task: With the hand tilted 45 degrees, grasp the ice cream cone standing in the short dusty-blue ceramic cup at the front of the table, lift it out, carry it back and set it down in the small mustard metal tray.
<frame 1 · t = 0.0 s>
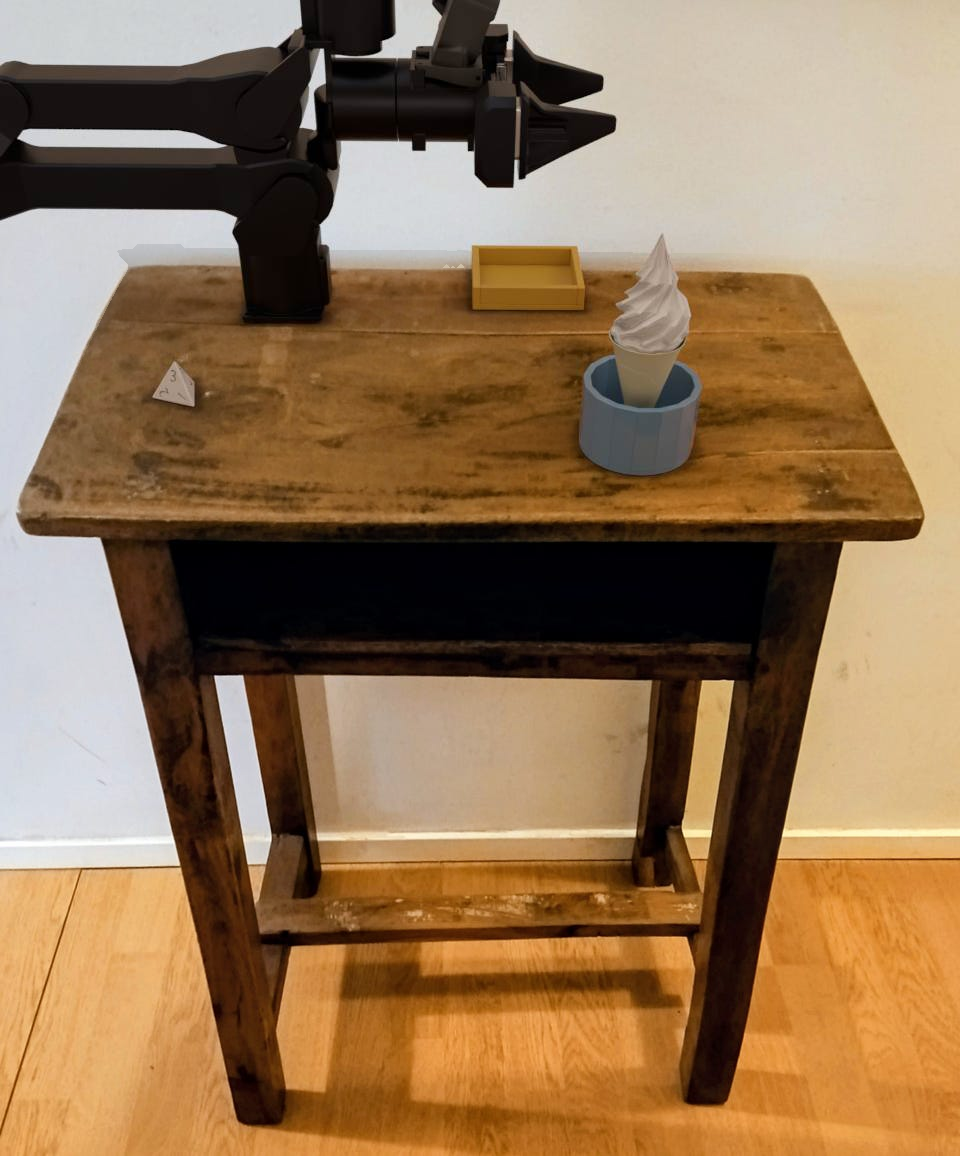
hand: (609, 102, 85), 17 cm above the table, tool horizontal, fingers open, 9 cm apart
tetrahedral die: (183, 395, 85), on the table
ice cream cone: (635, 442, 80), resting on cup
cup: (634, 443, 80), on the table
tray: (525, 287, 99), on the table
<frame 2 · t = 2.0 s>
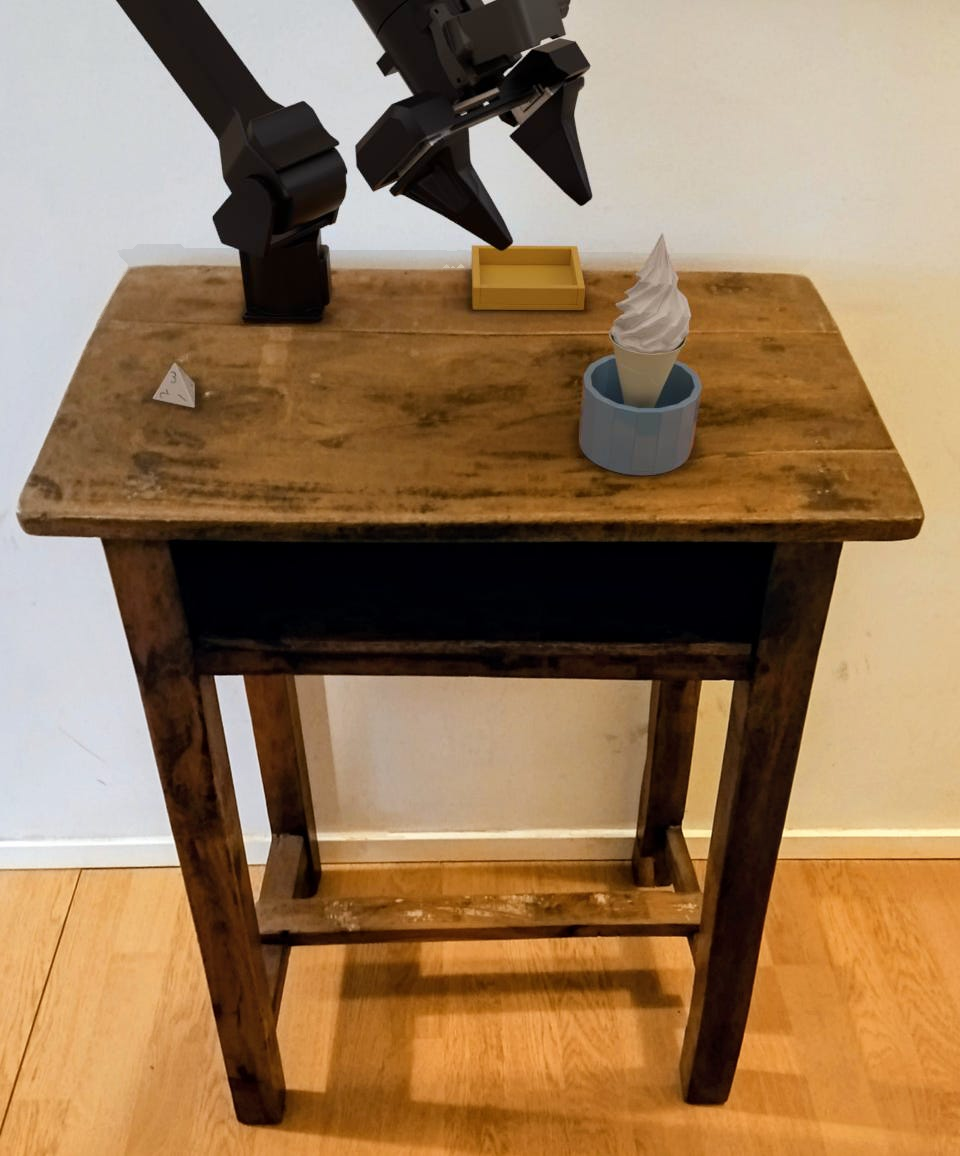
hand: (548, 223, 75), 14 cm above the table, tool tilted 45°, fingers open, 9 cm apart
nothing on the table moved.
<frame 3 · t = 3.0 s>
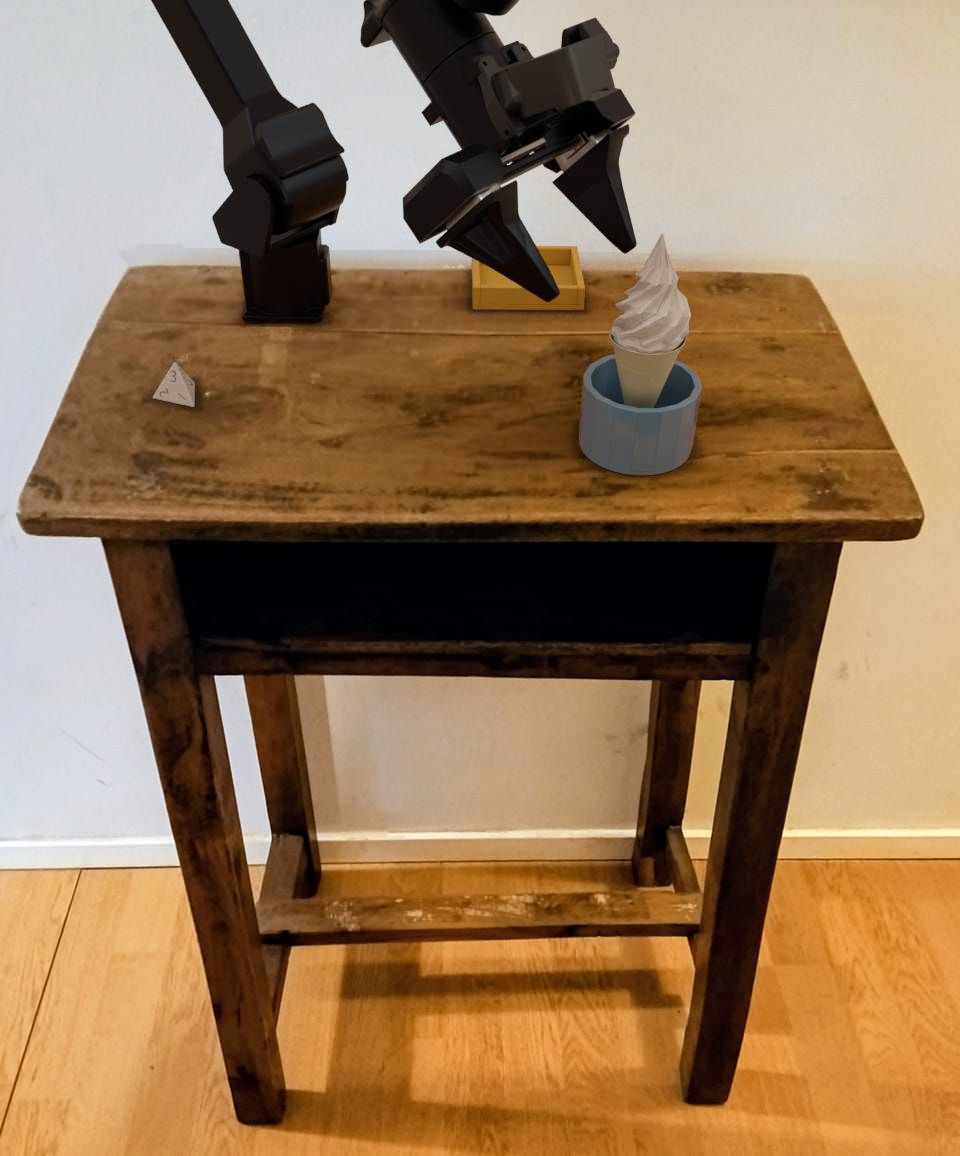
hand: (594, 273, 75), 11 cm above the table, tool tilted 45°, fingers open, 9 cm apart
nothing on the table moved.
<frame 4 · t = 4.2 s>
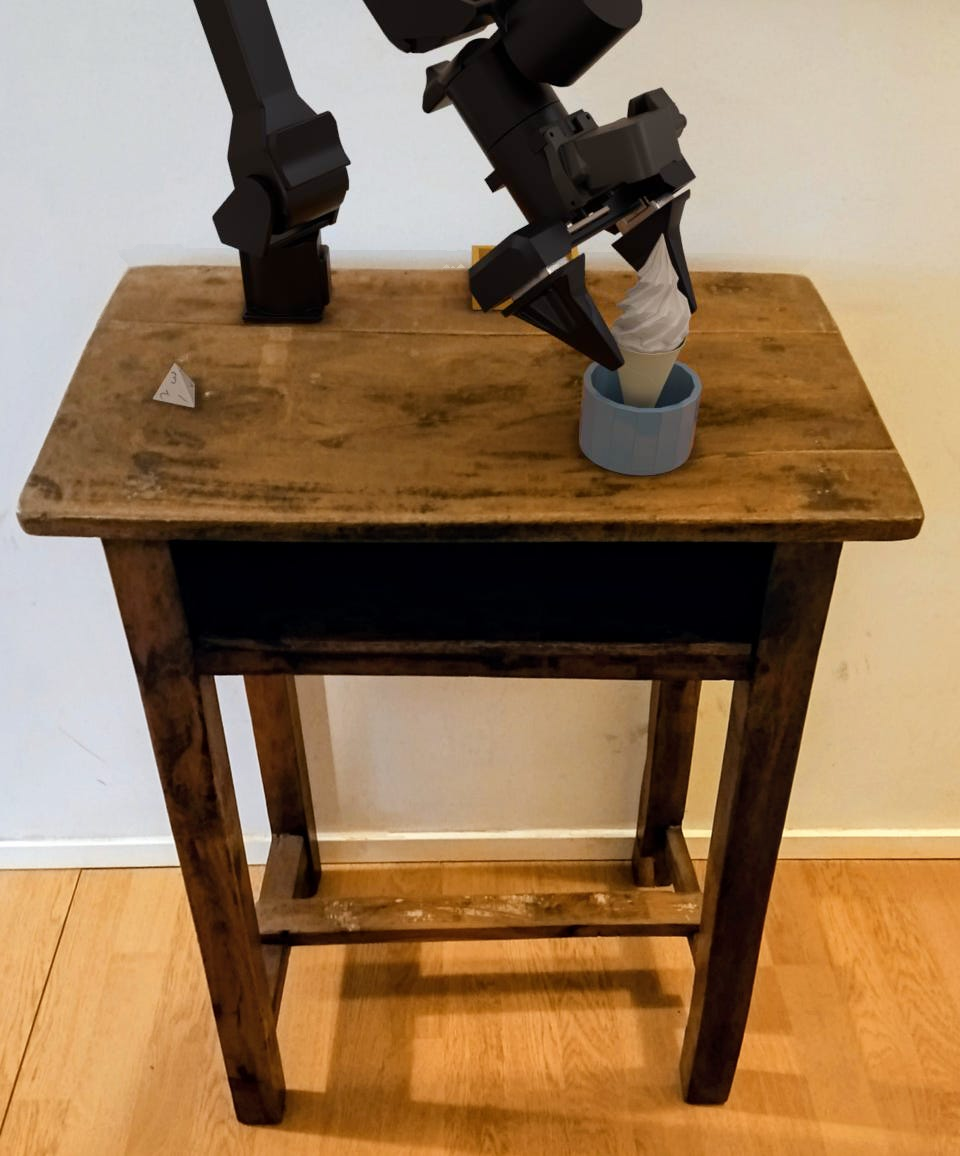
hand: (656, 340, 75), 8 cm above the table, tool tilted 45°, fingers open, 9 cm apart
nothing on the table moved.
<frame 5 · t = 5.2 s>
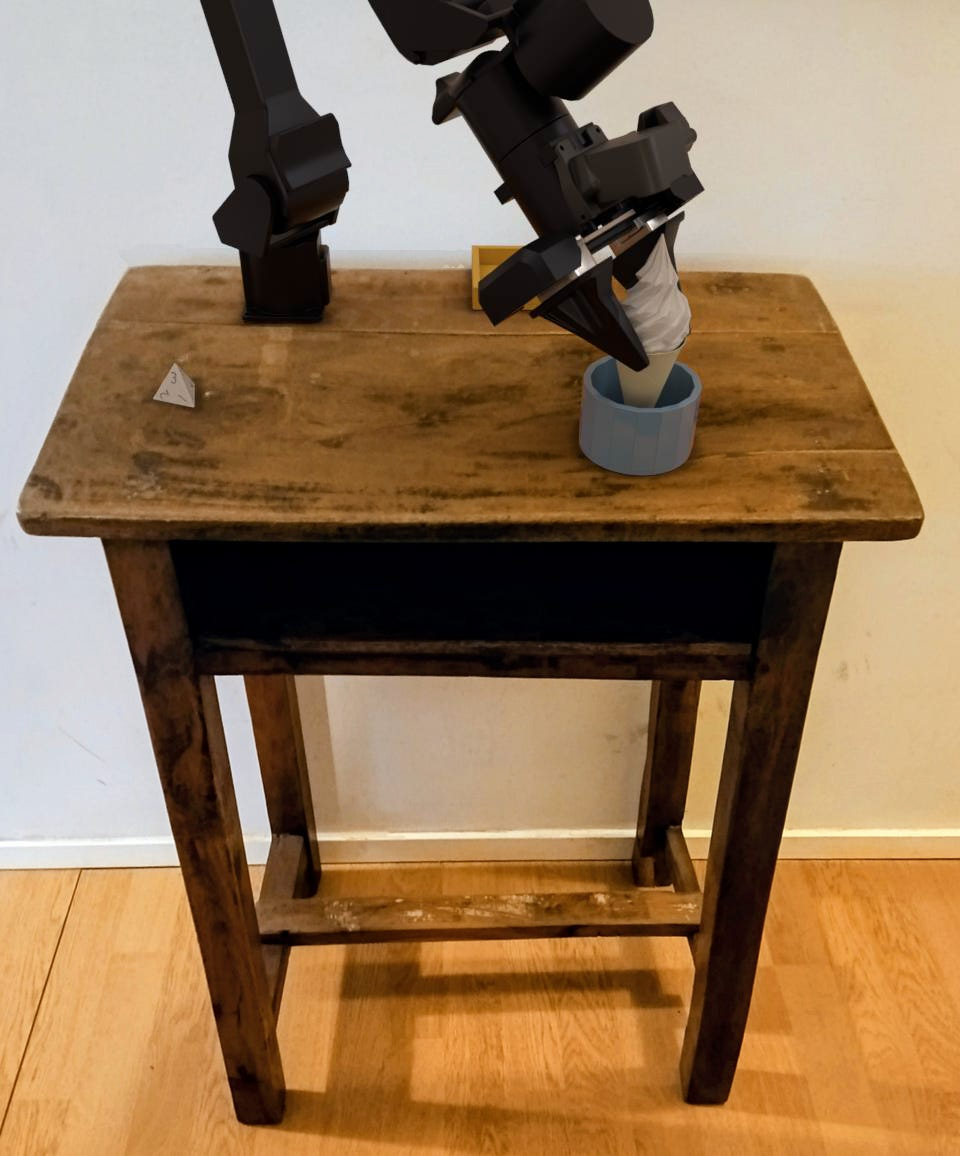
hand: (664, 352, 75), 8 cm above the table, tool tilted 45°, fingers closed on ice cream cone, 5 cm apart
ice cream cone: (635, 442, 80), resting on cup, touching gripper
everything else where it was.
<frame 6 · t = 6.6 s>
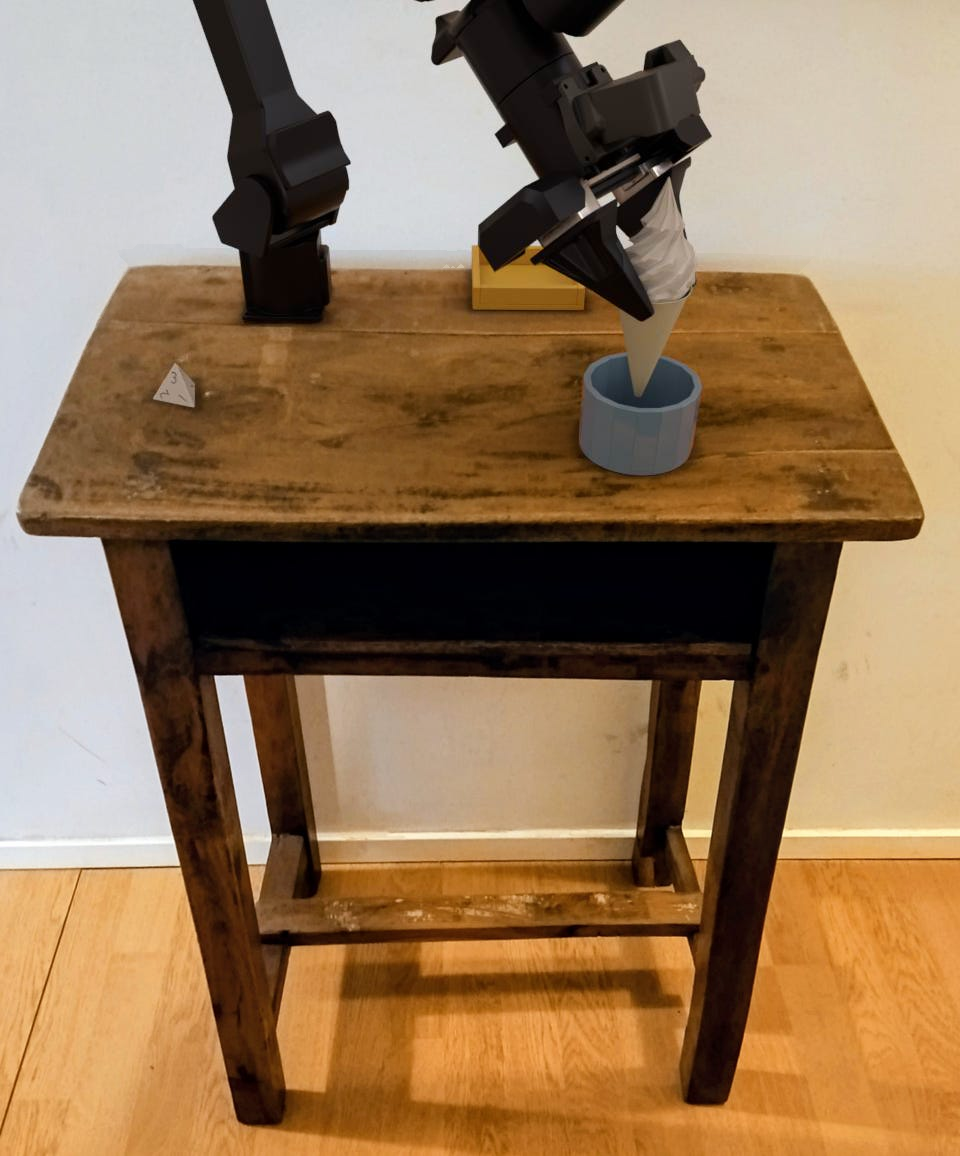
hand: (669, 303, 73), 11 cm above the table, tool tilted 45°, fingers closed on ice cream cone, 5 cm apart
ice cream cone: (637, 397, 78), point 4 cm above the table, touching gripper
everything else where it was.
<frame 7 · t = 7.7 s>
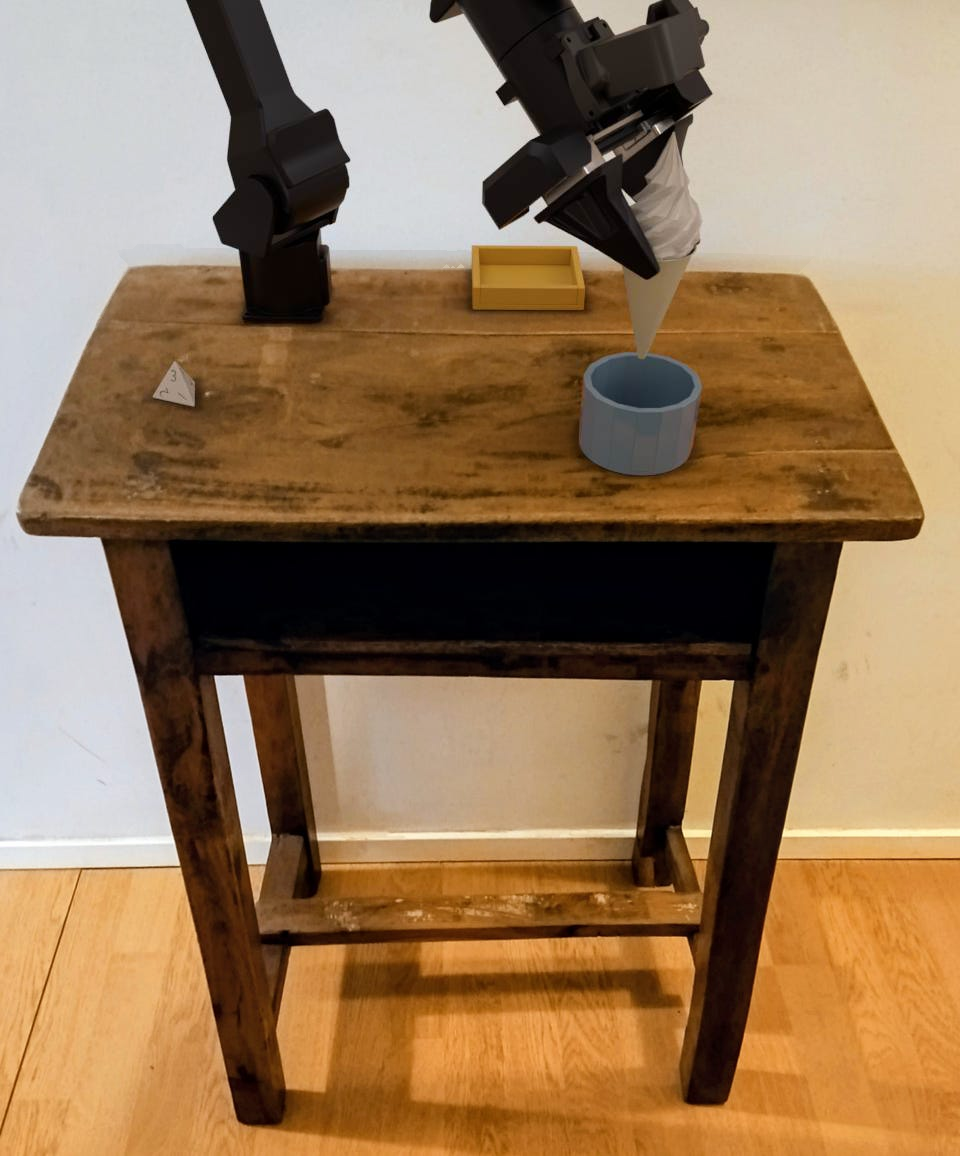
hand: (674, 261, 72), 13 cm above the table, tool tilted 45°, fingers closed on ice cream cone, 5 cm apart
ice cream cone: (641, 359, 77), point 6 cm above the table, touching gripper
everything else where it was.
when the fingers open (8 cm above the table, at t = 12.9 s): ice cream cone stays where it is, resting on tray.
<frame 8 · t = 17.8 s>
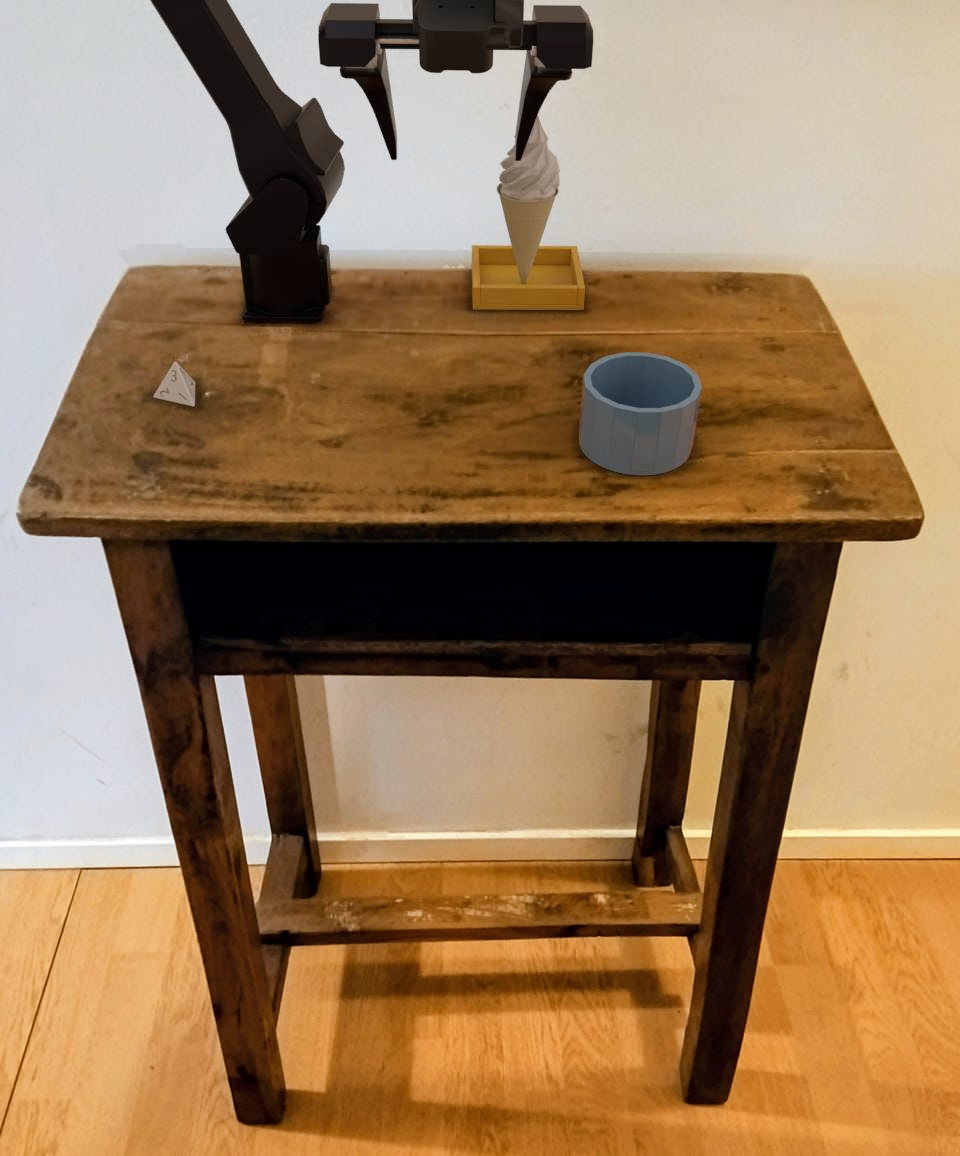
hand: (456, 158, 86), 13 cm above the table, tool pointing down, fingers open, 9 cm apart
ice cream cone: (523, 284, 98), resting on tray
everything else where it was.
at the end: ice cream cone inside the target area on the tray (0.2 cm from its centre), point 0.3 cm above the tray's base; ice cream cone touching tray; the gripper is holding nothing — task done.
